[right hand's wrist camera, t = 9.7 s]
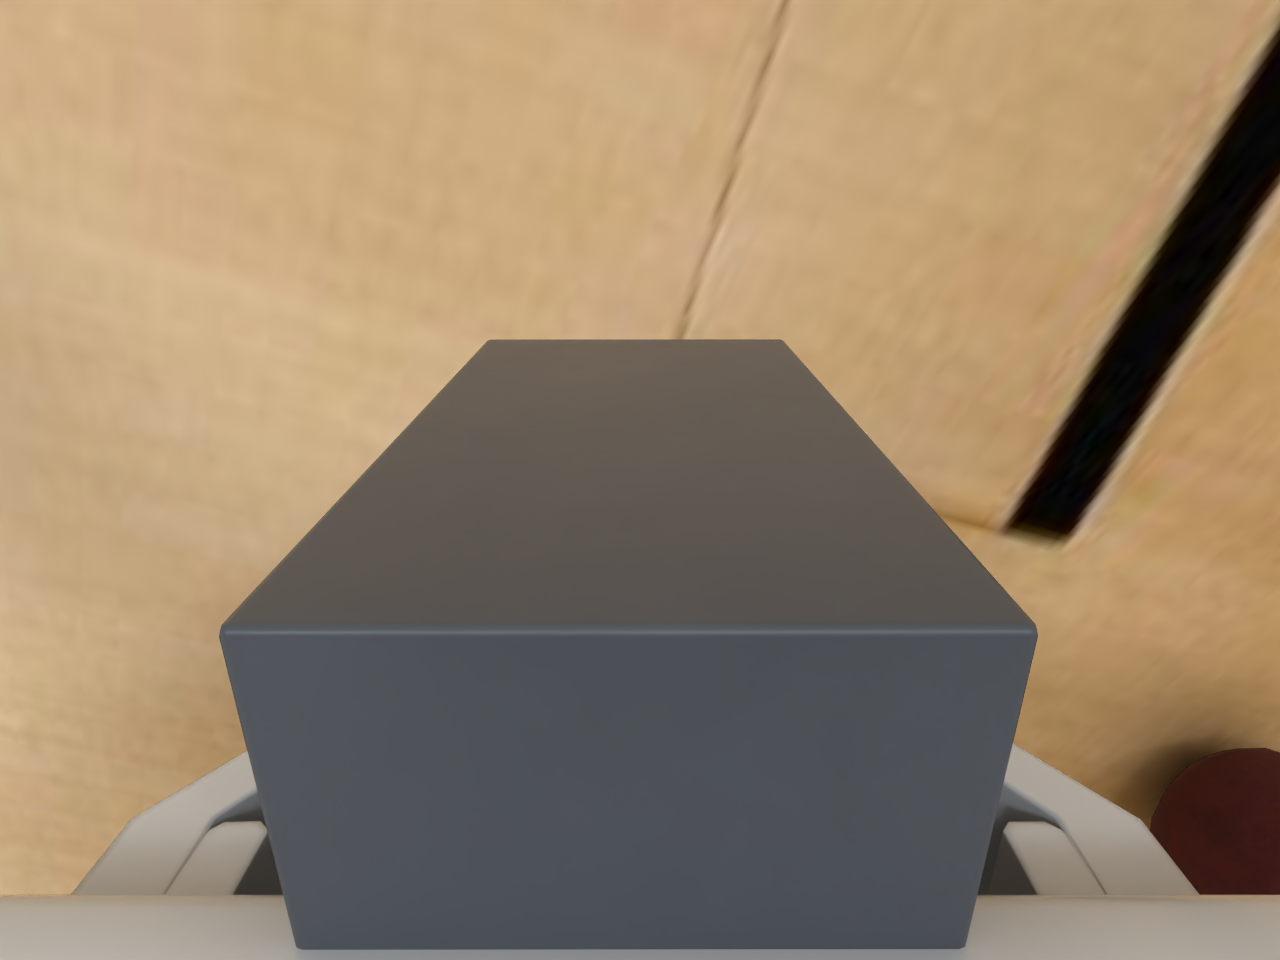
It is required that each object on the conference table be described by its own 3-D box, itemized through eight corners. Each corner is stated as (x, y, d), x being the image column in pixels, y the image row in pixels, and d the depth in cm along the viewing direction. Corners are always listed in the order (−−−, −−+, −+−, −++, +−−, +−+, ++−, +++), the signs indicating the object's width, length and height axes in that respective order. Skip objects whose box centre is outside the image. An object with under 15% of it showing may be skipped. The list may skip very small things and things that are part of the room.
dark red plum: (1108, 870, 32) (1230, 1049, 25) (1111, 725, 29) (1249, 884, 22) (1289, 842, 31) (1463, 1018, 25) (1310, 692, 28) (1513, 846, 22)
